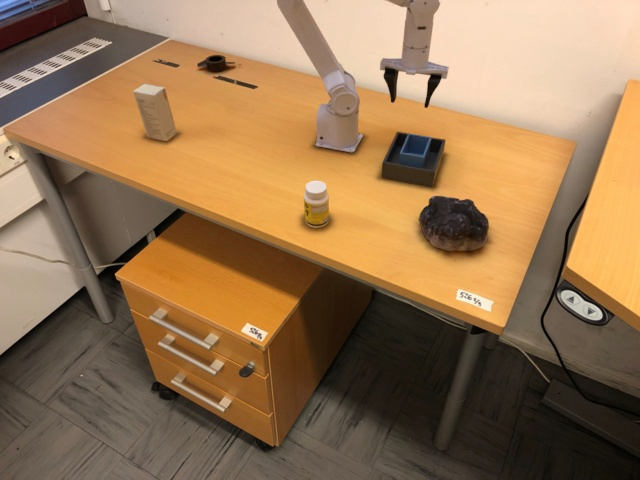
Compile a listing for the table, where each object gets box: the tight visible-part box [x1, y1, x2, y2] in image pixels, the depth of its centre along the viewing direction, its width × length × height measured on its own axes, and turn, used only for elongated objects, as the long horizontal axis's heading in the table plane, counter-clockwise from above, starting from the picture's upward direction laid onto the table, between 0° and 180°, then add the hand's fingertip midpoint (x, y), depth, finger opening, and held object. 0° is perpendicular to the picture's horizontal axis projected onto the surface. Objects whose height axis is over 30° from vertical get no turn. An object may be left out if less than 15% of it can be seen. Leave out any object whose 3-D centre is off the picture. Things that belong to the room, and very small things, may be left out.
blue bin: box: [399, 132, 433, 168], centre depth 113 cm, size 8×5×5 cm, turn 160°
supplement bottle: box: [303, 180, 330, 229], centre depth 99 cm, size 5×5×8 cm
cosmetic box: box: [132, 83, 178, 142], centre depth 122 cm, size 6×4×12 cm
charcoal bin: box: [381, 131, 447, 188], centre depth 114 cm, size 11×13×4 cm
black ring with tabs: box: [197, 54, 236, 74], centre depth 153 cm, size 8×10×3 cm
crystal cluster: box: [418, 195, 490, 252], centre depth 96 cm, size 13×14×10 cm
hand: (409, 103), depth 117 cm, fingers open, 7 cm apart
